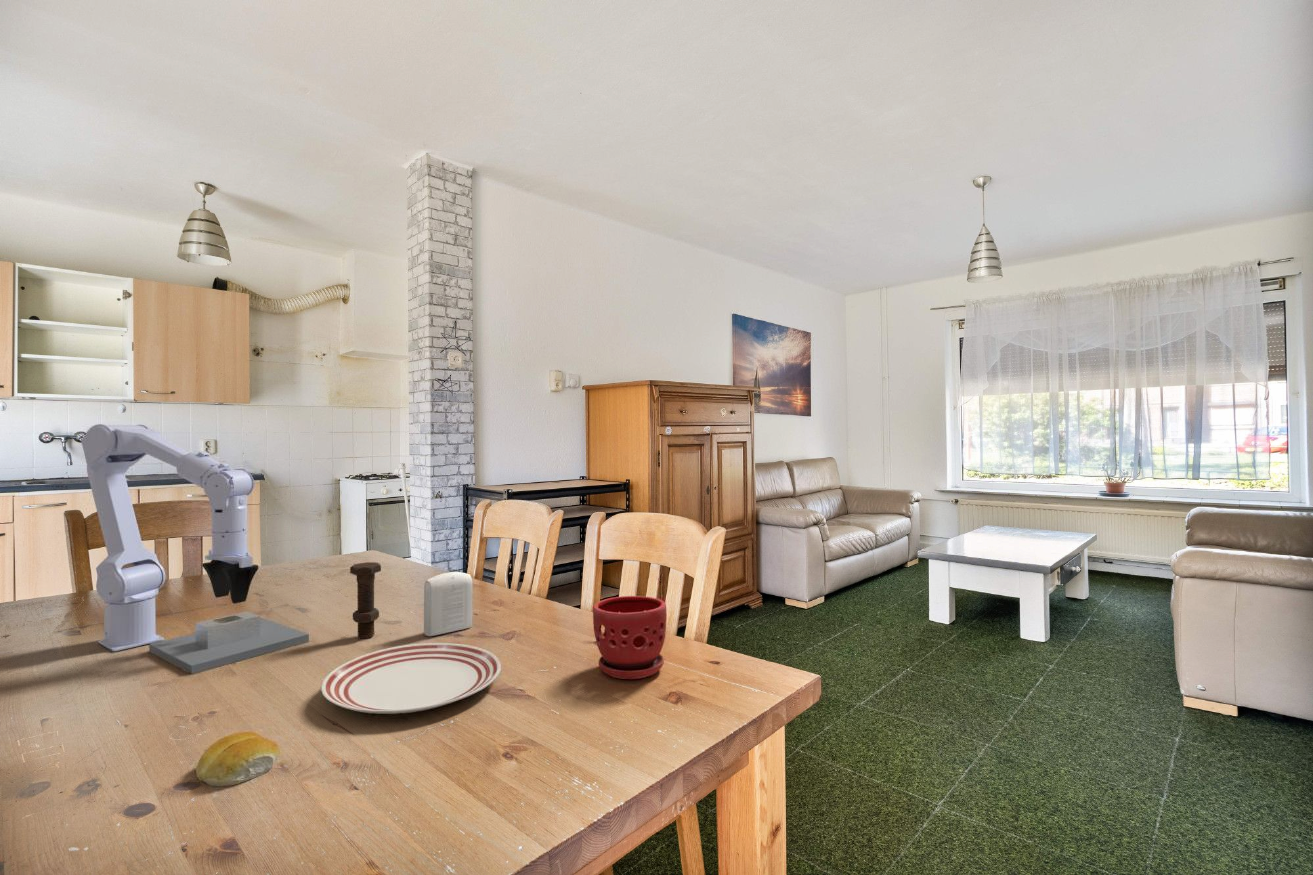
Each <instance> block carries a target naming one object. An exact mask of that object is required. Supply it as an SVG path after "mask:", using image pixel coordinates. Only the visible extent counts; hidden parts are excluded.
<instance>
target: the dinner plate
mask: <svg viewBox="0 0 1313 875" xmlns="http://www.w3.org/2000/svg"><path fill="white" fill-rule="evenodd" d="M501 670H502V665H501V662H500V660H499V658H498V657H497V656H496V655H495V654H493V653H492V652H491V651H488V650H486V649H484V648H480V647H478V646H473V645H468V644H462V643H450V642H430V643H429V642H426V643H425V642H424V643H413V644H406V645H398V646H394V647H393V646H392V647H389V648H388V647H387V648H384V649H380V650H376V651H373V652H369V653H366V654H363V655H359V656H357V657H356V658H354V659H351V660H349V661H347V662H345V663H343V664H340V665H339V666H337V667H336V668H334V669H333V670H332V671H331V672H330V673H328V674H327V676H325V677H324V679H323V680H322V682H321V686H320V690H321V693H322V695H323V697H324V698H325V699H326V700H327V701H329V702H330V703H332V704H333V705H336V706H338V707H340V708H344V709H346V710H349V711H350V710H351V711H355V712H360V713H368V714H378V715H379V714H380V715H381V714H384V715H385V714H386V715H399V714H400V713H402V714H411V713H417V711H418V712H423V711H427V710H431V709H435V708H439V707H442V706H446V705H448V704H452V703H455V702H457V701H460V700H463V699H465V698H468V697H470V696H473V695H474V694H476V693H478V692H481V691H482V690H483V689H486V688H487V687H488V686H489V685H490V684H492V683H493V682H494V681H496V679H497V678H498V677H499V675H500V673H501ZM398 713H399V714H398ZM400 715H401V714H400Z"/></svg>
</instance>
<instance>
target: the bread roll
mask: <svg viewBox="0 0 1313 875" xmlns="http://www.w3.org/2000/svg"><path fill="white" fill-rule="evenodd" d="M280 754H281V752H280V747H279V745H278V744H277V743H276V742H275V741H274V740H271V739H268V738H267V737H264V736H262V735H261V734H259V733H257V732H253V731H241V732H236V733H233V734H229V735H227V736H224V737H221V738H219V739H217V741H214V742H213V743H212V744H211V745H209V746H208V747H207V748H206V750H205V751H204V752H203V753H202V754H201V756H200V758H199V760H198V763H197V765H196V768H195V771H196V777H197V779H198V780H199V781H201V782H204V783H206V784H207V785H209V786H212V787H213V786H214V787H227V786H228V787H229V786H233V785H239V784H242V783H245V782H247V781H250V780H252V778H253V779H255V778H257V777H259V776H261V775H264V774H266V773H267V772H268V771H270V770H272V768H273V766H274V765H275V763H277V762H276V761H277V760H278V758H279V757H280ZM249 779H250V780H249ZM241 782H242V783H241Z"/></svg>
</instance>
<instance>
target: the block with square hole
mask: <svg viewBox="0 0 1313 875" xmlns="http://www.w3.org/2000/svg"><path fill="white" fill-rule="evenodd" d="M260 618H261V616H260V615H258V614H255V613H252V612H249V611H243V612H239V613H234V614H230V615H225V616H221V617H216V618H212V619H208V620H207V619H206V620H202V621H197V622H195V630H194V631H195V643H196V644H198V645H200V646H202V647H204V648H206V649H210V648H214V647H218V646H222V645H226V644H230V643H234V642H238V641H242V640H246V639H249V638H253V637H257V636H260Z"/></svg>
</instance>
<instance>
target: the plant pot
mask: <svg viewBox="0 0 1313 875" xmlns="http://www.w3.org/2000/svg"><path fill="white" fill-rule="evenodd" d="M592 619H593V621H592V623H593V633H594V636H595V638H594V639H595V642H596V646H597V649H598V651H599V653H600V655H601V657H600V658H599V660H598V667H599V669H600V670H601V671H602V672H603V673H605V674H606V675H608V676H611V677H613V678H617V679H620V680H621V679H623V680H637V679H643V678H647V676H650V675H651V676H652V675H655V674H656V673H658V672H659V671H660V670H661V668H662V667H663V666H664V663H665V659H664V657H663V655H662V654H661V651H662V649H663V647H664V644H665V639H666V634H667V603H666V602H665V601H664V600H662V599H661V598H656V597H651V596H644V595H643V596H642V595H626V596H625V595H624V596H622V595H621V596H616V597H615V596H614V597H610V598H606V599H605V598H604V599H602V600H600V601H597V602H596V603H594V604H593V606H592ZM602 627H604V631H603V633H602ZM651 676H650V677H651Z"/></svg>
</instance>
